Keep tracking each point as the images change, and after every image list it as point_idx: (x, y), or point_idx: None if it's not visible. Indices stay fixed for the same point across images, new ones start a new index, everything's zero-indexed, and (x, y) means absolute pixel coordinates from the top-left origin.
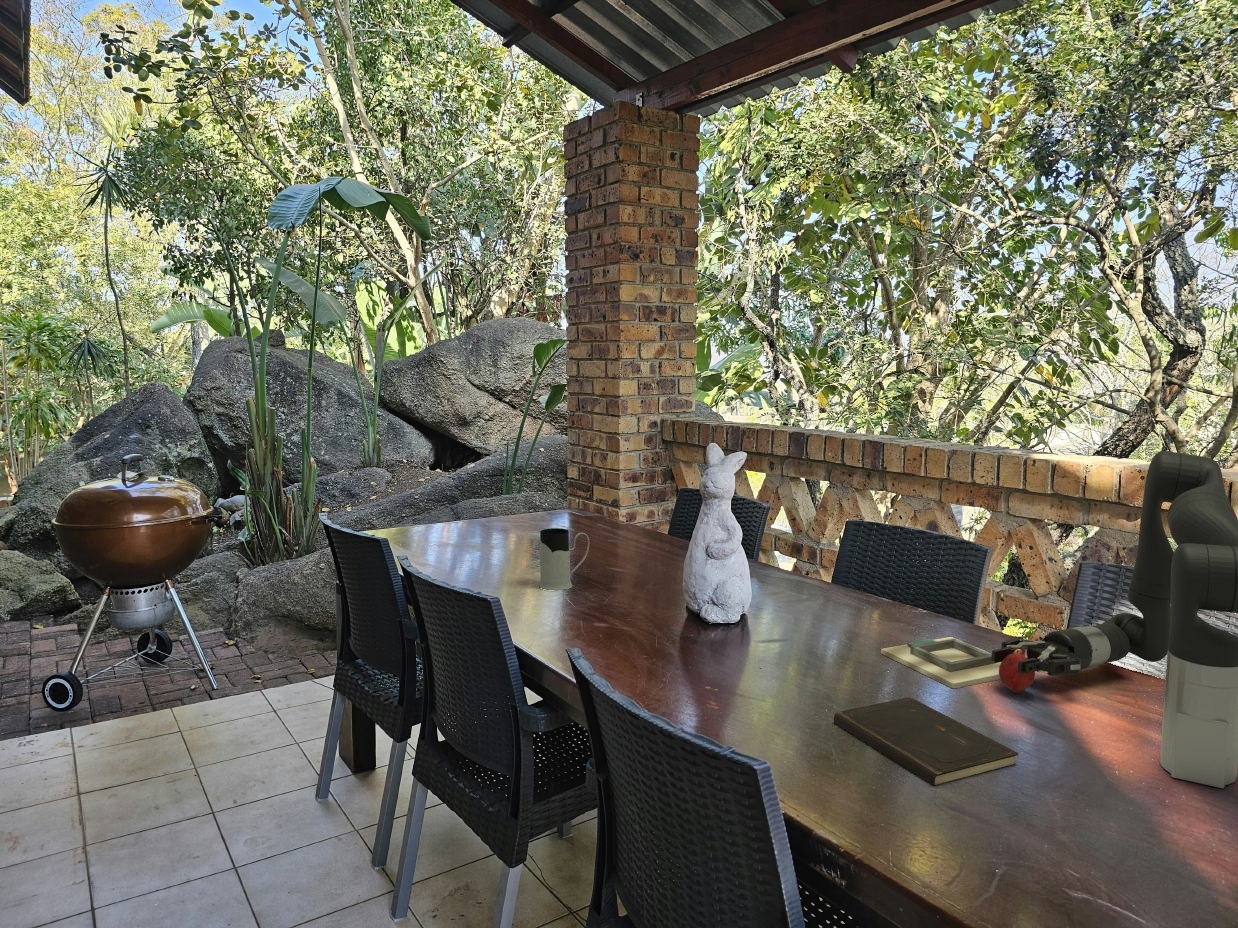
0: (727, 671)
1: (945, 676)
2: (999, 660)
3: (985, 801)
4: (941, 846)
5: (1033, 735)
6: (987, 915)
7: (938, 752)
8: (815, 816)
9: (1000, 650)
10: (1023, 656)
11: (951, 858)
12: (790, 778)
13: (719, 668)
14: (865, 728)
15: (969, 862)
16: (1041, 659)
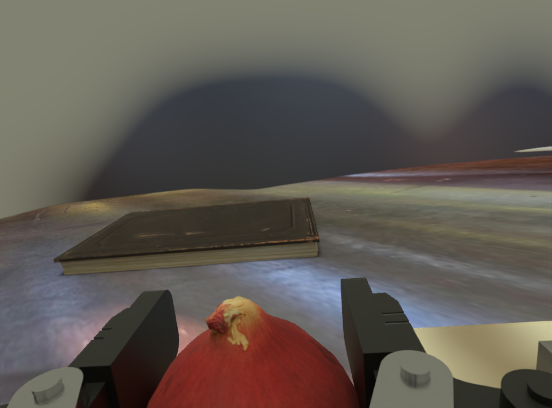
0: (510, 184)
1: (472, 339)
2: (349, 354)
3: (74, 235)
4: (87, 211)
5: (52, 340)
6: (35, 210)
7: (154, 220)
8: (180, 192)
9: (346, 295)
10: (201, 354)
11: (75, 211)
12: (231, 190)
13: (522, 182)
14: (252, 202)
15: (61, 214)
16: (40, 375)
